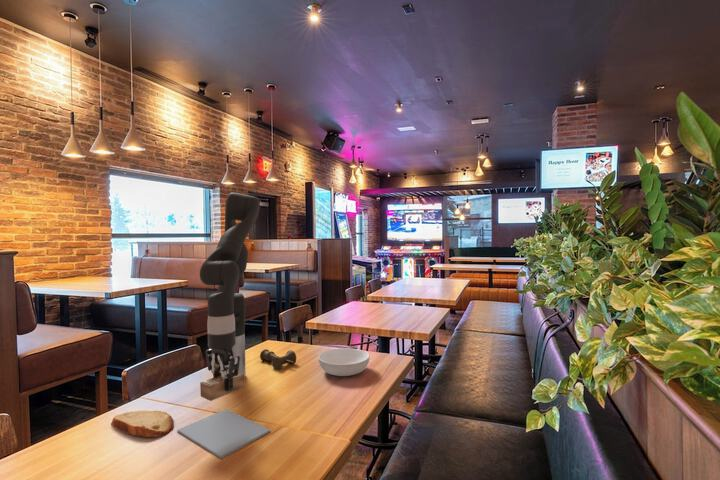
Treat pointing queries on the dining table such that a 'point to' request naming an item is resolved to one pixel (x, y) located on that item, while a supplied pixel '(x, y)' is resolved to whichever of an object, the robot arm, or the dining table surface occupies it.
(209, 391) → the brown rectangular block
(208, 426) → the slate mat
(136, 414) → the bread slice
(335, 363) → the serving bowl
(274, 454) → the dining table surface
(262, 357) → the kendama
